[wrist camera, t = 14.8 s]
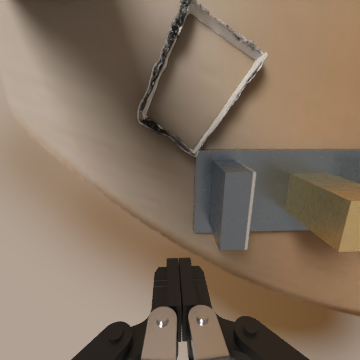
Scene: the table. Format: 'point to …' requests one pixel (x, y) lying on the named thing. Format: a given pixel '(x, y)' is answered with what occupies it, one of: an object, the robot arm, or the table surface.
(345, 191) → the brass block
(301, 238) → the table surface
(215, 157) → the vise base
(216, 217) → the sliding jaw
